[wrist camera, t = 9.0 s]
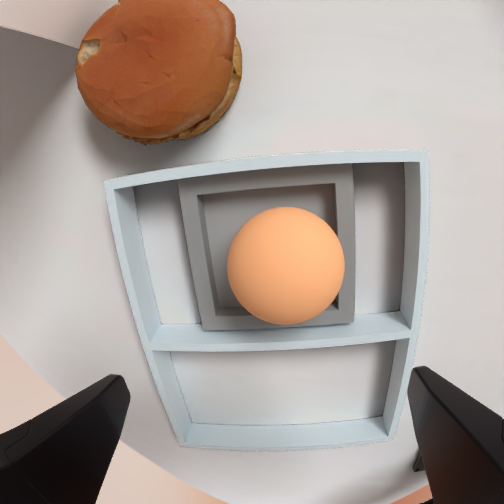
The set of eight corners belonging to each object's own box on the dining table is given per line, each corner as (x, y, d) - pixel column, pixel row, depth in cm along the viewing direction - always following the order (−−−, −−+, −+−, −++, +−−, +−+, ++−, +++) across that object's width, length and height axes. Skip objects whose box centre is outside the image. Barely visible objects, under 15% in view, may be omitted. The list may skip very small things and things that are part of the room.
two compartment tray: (387, 419, 24) (393, 439, 21) (187, 426, 26) (180, 446, 24) (412, 149, 17) (428, 150, 15) (123, 175, 19) (103, 180, 17)
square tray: (350, 310, 21) (354, 322, 19) (208, 318, 22) (203, 330, 20) (346, 162, 18) (352, 163, 16) (185, 177, 19) (177, 179, 17)
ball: (320, 286, 21) (363, 331, 15) (228, 303, 20) (244, 359, 14) (315, 193, 19) (366, 211, 13) (214, 206, 18) (226, 230, 12)
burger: (255, 127, 18) (244, 121, 13) (113, 154, 19) (71, 159, 15) (235, -14, 15) (220, -51, 10) (102, 23, 16) (64, 4, 12)
